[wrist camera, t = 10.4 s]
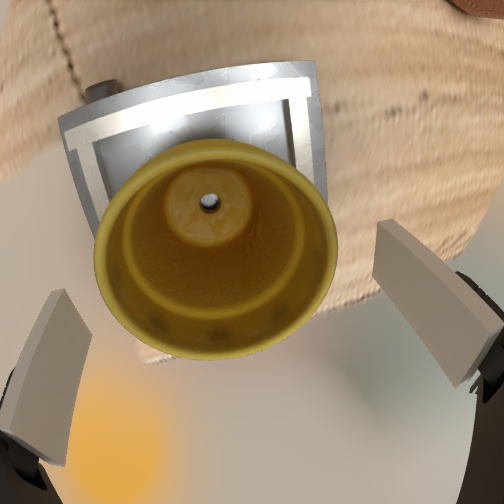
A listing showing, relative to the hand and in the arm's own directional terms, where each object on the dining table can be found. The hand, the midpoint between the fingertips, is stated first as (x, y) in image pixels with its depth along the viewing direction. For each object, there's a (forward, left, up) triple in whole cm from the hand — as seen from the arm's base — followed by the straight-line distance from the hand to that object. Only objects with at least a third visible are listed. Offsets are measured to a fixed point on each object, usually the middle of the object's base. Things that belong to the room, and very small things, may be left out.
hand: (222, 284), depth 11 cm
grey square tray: (0, 0, -14) cm, 14 cm away
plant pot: (0, 0, -10) cm, 10 cm away
